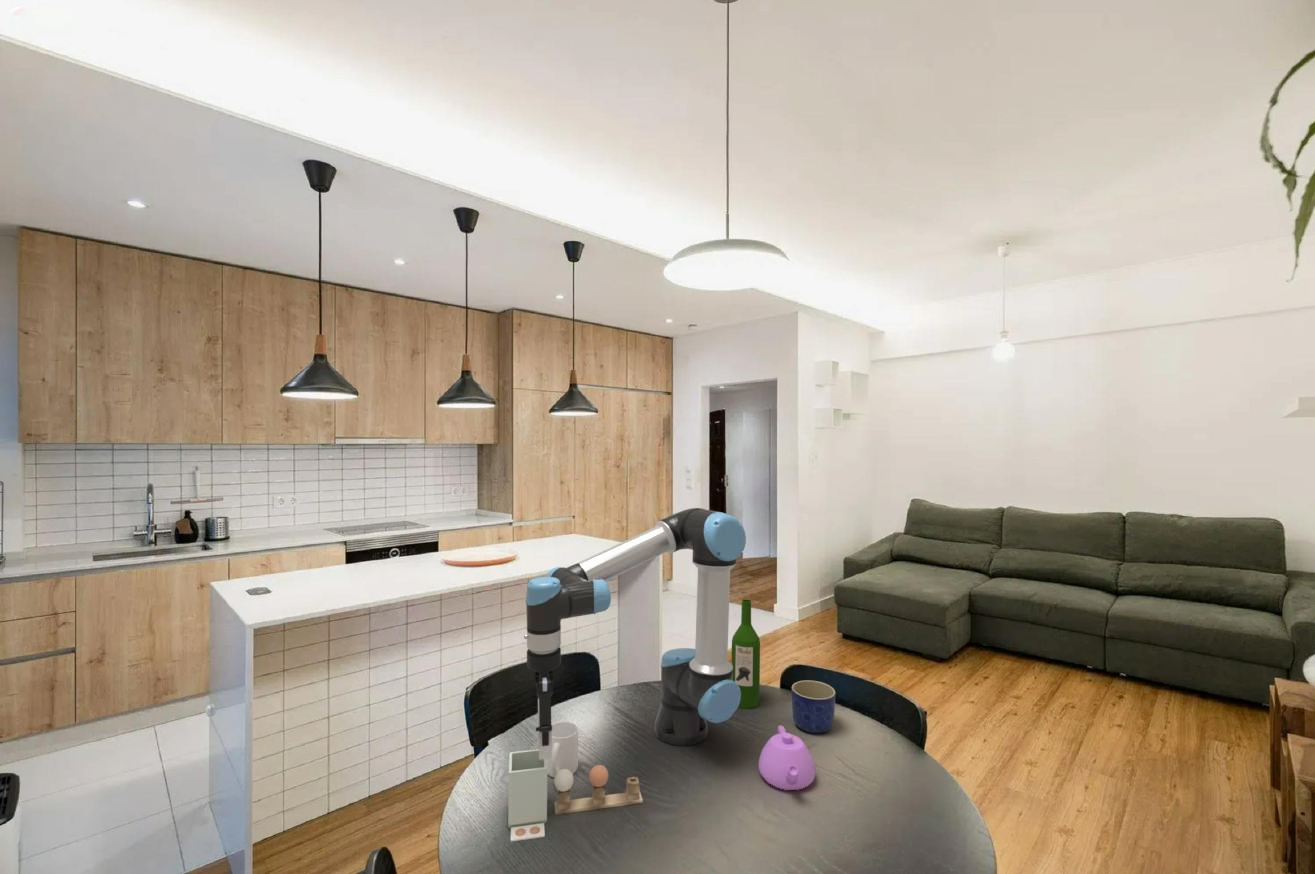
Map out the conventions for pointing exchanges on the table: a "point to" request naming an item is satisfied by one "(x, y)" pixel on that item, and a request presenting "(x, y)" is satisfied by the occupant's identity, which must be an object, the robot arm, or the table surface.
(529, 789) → the grey-green tall hollow box
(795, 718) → the planter
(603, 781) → the ball
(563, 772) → the ball
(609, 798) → the rack
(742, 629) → the wine bottle
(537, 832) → the card
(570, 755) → the mug
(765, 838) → the table surface
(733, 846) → the table surface
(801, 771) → the teapot
